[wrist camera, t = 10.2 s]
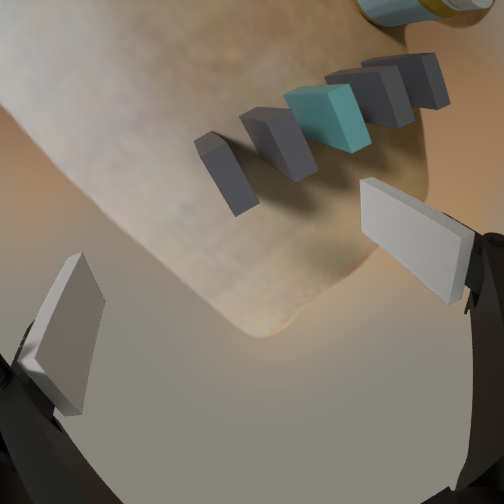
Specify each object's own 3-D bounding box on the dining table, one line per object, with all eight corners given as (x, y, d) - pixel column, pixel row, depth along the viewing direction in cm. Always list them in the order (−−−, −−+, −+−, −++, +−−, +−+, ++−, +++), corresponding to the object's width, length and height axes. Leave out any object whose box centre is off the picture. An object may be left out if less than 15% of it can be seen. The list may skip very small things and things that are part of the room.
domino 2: (261, 159, 31) (295, 183, 22) (238, 116, 28) (265, 121, 20) (278, 150, 31) (319, 170, 22) (256, 107, 28) (291, 109, 20)
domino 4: (342, 118, 31) (399, 128, 22) (324, 76, 28) (378, 71, 19) (356, 111, 30) (415, 120, 22) (339, 70, 28) (396, 65, 19)
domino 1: (218, 183, 31) (235, 216, 22) (193, 141, 29) (200, 157, 20) (235, 173, 31) (259, 203, 22) (211, 130, 28) (226, 142, 20)
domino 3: (303, 137, 31) (351, 153, 22) (283, 94, 28) (327, 93, 20) (319, 129, 31) (371, 143, 22) (299, 87, 28) (349, 83, 19)
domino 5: (376, 102, 30) (437, 109, 22) (360, 62, 28) (420, 57, 19) (388, 97, 30) (450, 103, 22) (373, 57, 28) (434, 52, 19)
